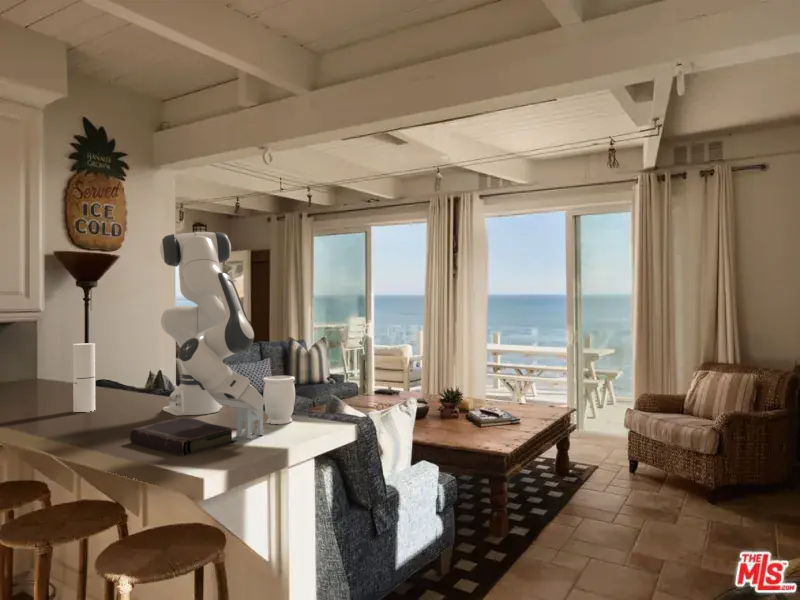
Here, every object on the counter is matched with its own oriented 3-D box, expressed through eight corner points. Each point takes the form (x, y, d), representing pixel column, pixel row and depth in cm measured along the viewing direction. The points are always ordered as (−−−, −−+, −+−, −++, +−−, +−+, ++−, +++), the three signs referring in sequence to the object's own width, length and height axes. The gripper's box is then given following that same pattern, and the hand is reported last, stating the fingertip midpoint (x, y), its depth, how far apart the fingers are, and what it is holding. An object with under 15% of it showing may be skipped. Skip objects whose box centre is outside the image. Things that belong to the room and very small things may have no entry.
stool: (236, 436, 169) (236, 405, 169) (251, 432, 173) (251, 402, 173) (247, 439, 165) (247, 407, 165) (263, 435, 170) (263, 404, 170)
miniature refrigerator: (88, 412, 206) (88, 344, 206) (69, 413, 206) (68, 344, 206) (99, 409, 213) (98, 343, 214) (80, 409, 214) (80, 343, 214)
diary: (181, 459, 147) (180, 440, 147) (129, 445, 162) (129, 428, 162) (239, 443, 162) (238, 426, 162) (187, 432, 177) (186, 416, 177)
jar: (287, 426, 182) (287, 379, 182) (258, 425, 184) (257, 379, 184) (300, 419, 193) (299, 375, 193) (271, 418, 195) (271, 375, 195)
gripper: (195, 389, 167) (224, 417, 175) (237, 396, 154) (266, 425, 162) (209, 372, 170) (236, 400, 178) (251, 378, 158) (278, 407, 165)
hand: (251, 412), depth 170 cm, fingers closed on stool, 6 cm apart
